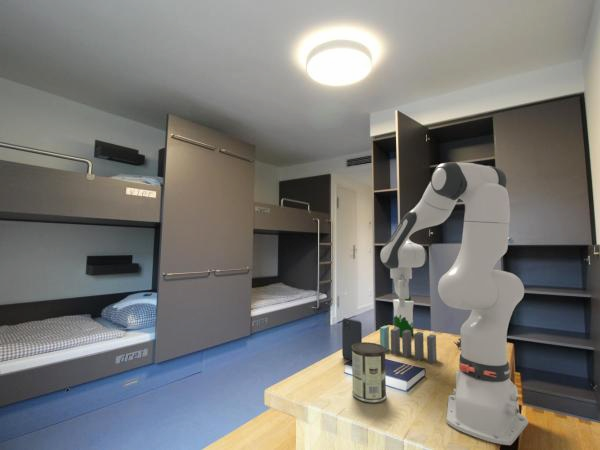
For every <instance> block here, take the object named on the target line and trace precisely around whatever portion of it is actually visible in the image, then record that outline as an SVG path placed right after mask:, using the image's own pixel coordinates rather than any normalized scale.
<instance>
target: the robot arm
mask: <svg viewBox="0 0 600 450" xmlns="http://www.w3.org/2000/svg"><path fill="white" fill-rule="evenodd" d="M506 185H507V177H506V174H505V172H504V171H503V170H502V169H500V168H498V167H495V166H492V165H483V164H478V163H473V162H454V161H449V162H443V163H440V164H439V165H437V166H436V168H435V169H434V170H433V171H432V175H431V178H430V181H429V183H428V185H427V187H426V188H425V191H424V192H423V194H422V196H421V199H420V200H419V202H418V203H417V204H416V205H415V207H414V208H412V209H411V210H409V211H408V212H407V213H405V214H404V216H403V217H402V219H401V220H400V222H399V224H398V225H397V226H396V229H395V230H394V232H393V233H392V234H391V237H390V238H389V240H388V241H387V242H386V243H385V244H384V245H383V246H382V248H381V250H380V253H379V258H380V261H381V263H382V264H383V265H384V266H385V268H387V269H389V271H390V272H389V274H390V275H389V276H390V277H389V278H390V279H393V280H392V281H393V285H394V286H393V287H394V292H395V294H396V295H397V296H398V299H399V304H400V307H402V308H404V307H405V299H409V296H410V292H409V291H410V290H409V289H410V288H409V283H410V280H412V278H413V270H412V268H420V267H422V266H424V265H425V263H427V258H428V254H427V250H426V249H425V246H423V245H422V244H418V243H415V242H413V241H411V239H410V237H411V235H412V234H414V233H415V232H417V231H420V230H423V229H427V228H430V227H434V226H435V227H436V226H438V225H441V224H443V223H444V222H445V221H446V220H447V219H448V218H449V217H450V216H451V214H452V212H453V210H454V208H455V206H456V204H457V202H458V200H459V199H460V200H461V201H462V202H463V204H464V217H463V228H462V229H463V230H462V237H461V244H460V248H459V249H460V250H459V252H458V255H457V257H456V259H455V261H454V262H453V265H452V266H451V267H450V268H449V270H448V271H447V272H445V273H444V274H443V275H442V276H441V277H440V278H439V281H438V283H437V284H438V285H437V292H438V295H439V297H440V299H441V301H442V303H444V305H446V306H447V307H449V308H453V309H459V310H464V311H465V310H466V311H468V310H469V311H470V310H471V313H470V315H469V317H468V318H467V319H466V320H465V321H464V322H463V324H462V325H461V327H460V330H459V331H460V338H461V348H460V353H459V358H458V359H459V360H458V363H459V365H458V366H459V367H458V370H457V371H455V382H456V385H455V388H453V389H452V394H450V395H448V399H447V409H446V424H448V425H449V426H451V427H452V428H454V429H456V430H458V431H460V432H463V433H464V434H467V435H470V436H473V437H475V438H478V439H481V440H484V441H486V442H490V443H494V444H499V445H503V446H504V445H505V446H512V444H513V443H514V442H515V441H516V440H517V438H519V436H520V435H521V433H522V432H523V431H524V430H525V428H526V427H527V426H528V425H529V419H528V418H527V417H526V416H525V415H523V414H521V413H520V406H519V405H520V404H519V395H518V388H517V387H518V386H517V385H515V384H514V383H513V381H511V379H510V377H511V367H510V363H509V361H508V351H507V348H508V347H507V345H508V344H507V342H508V341H507V335H508V328H509V323H510V321H511V317H512V315H513V312H514V310H515V308H516V306H517V305H518V304H519V303H520V301H522V299H523V298H524V295H525V287H524V284H523V282H522V280H521V278H519V277H518V276H517V275H516V274H514V273H512V272H508V271H505V270H500V269H494V267H495V266H496V264H497V262H498V261H499V259H501V258H502V257H504V255H505V254H506V253H507V251H508V248H509V247H508V246H509V236H510V222H511V221H510V220H511V207H510V197H509V192H508V189H507V188H506Z"/></svg>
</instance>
